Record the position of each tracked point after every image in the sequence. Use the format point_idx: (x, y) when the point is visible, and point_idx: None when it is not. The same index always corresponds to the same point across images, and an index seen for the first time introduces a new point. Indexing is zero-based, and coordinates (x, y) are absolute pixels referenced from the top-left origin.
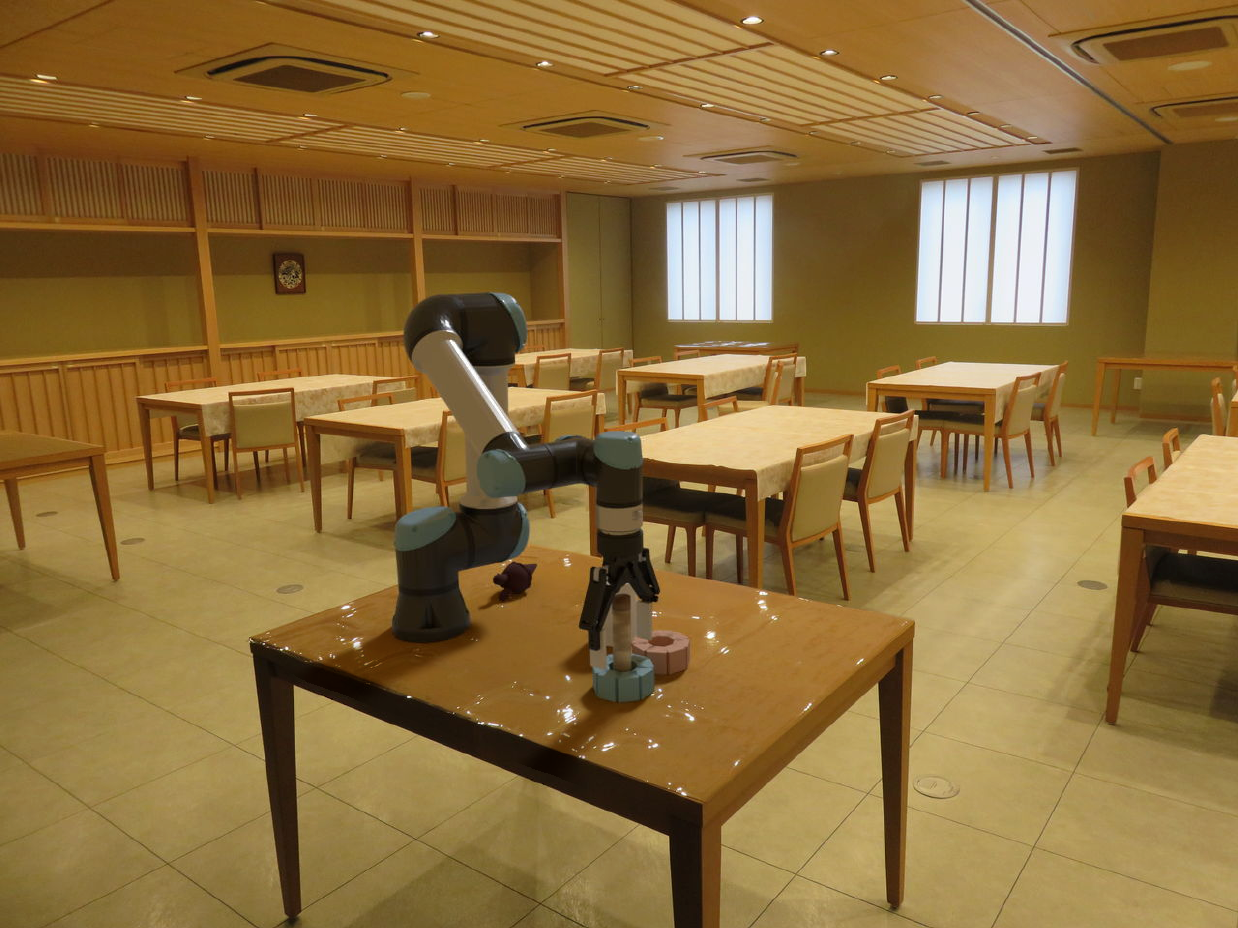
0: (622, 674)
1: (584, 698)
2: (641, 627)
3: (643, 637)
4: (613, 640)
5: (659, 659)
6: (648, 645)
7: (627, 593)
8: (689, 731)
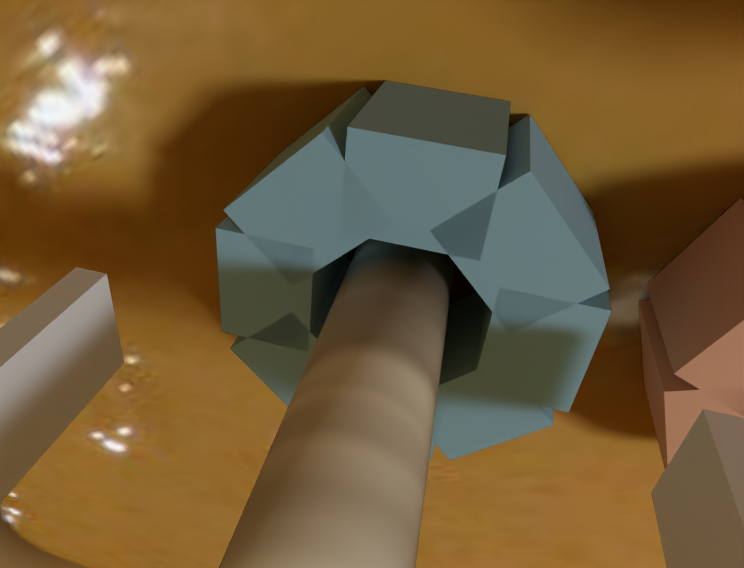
0: (291, 350)
1: (224, 108)
2: (705, 527)
3: (678, 463)
4: (289, 418)
5: (657, 419)
6: None
7: None
8: (235, 506)
